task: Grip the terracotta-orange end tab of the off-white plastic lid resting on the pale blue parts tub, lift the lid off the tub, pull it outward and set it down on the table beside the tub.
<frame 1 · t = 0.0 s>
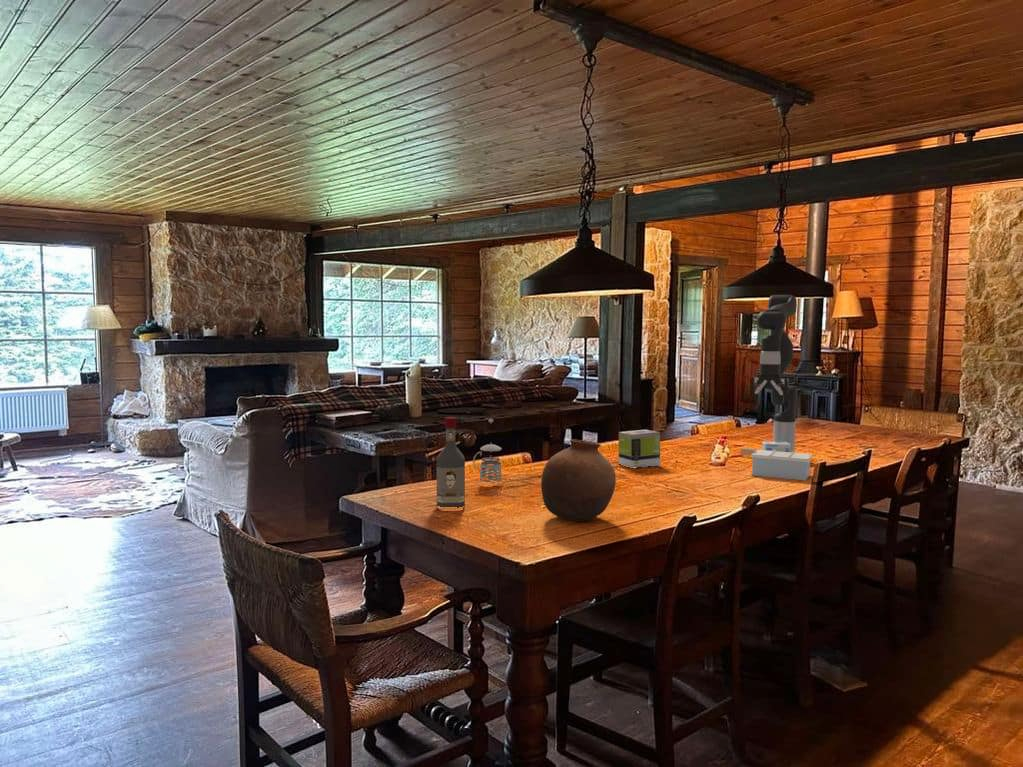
hand: (768, 404, 292), 29 cm above the table, tool pointing down, fingers open, 8 cm apart
lid: (781, 457, 295), point 8 cm above the table, touching tub
pottery: (578, 519, 232), on the table
tub: (780, 477, 295), on the table
french press: (488, 484, 281), on the table
light bulb box: (775, 468, 315), on the table
liquor: (450, 508, 245), on the table
tea box: (639, 466, 318), on the table
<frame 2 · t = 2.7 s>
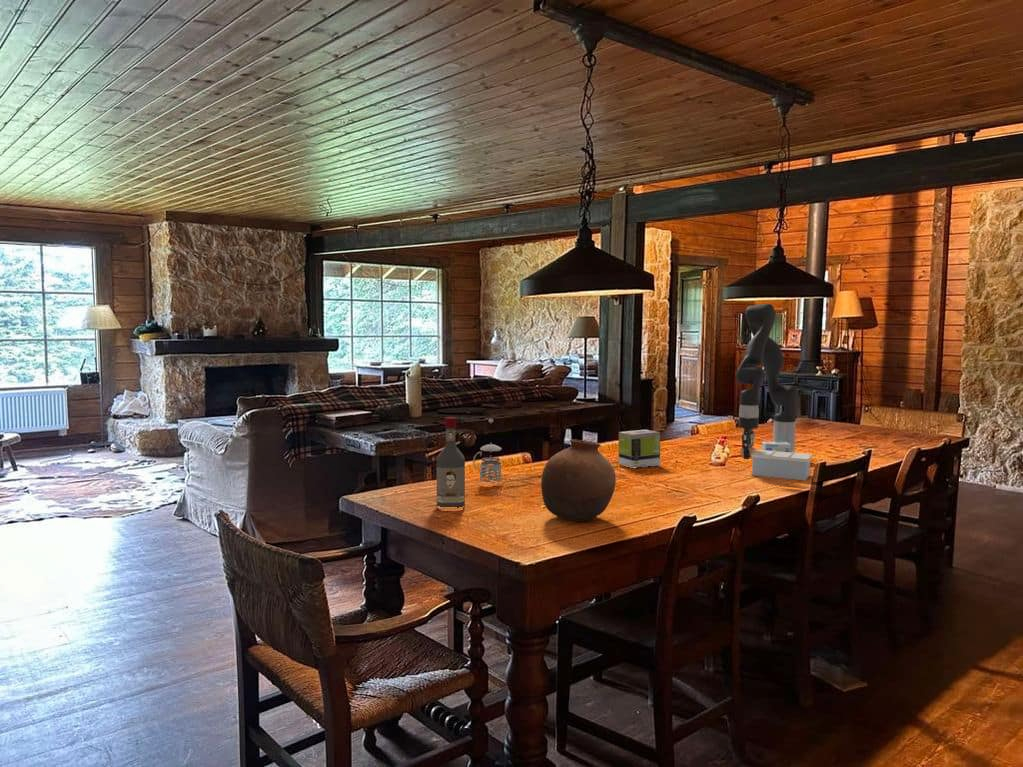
hand: (747, 457, 301), 7 cm above the table, tool pointing down, fingers closed on lid, 4 cm apart
lid: (781, 457, 295), point 8 cm above the table, touching gripper, tub
everything else where it was.
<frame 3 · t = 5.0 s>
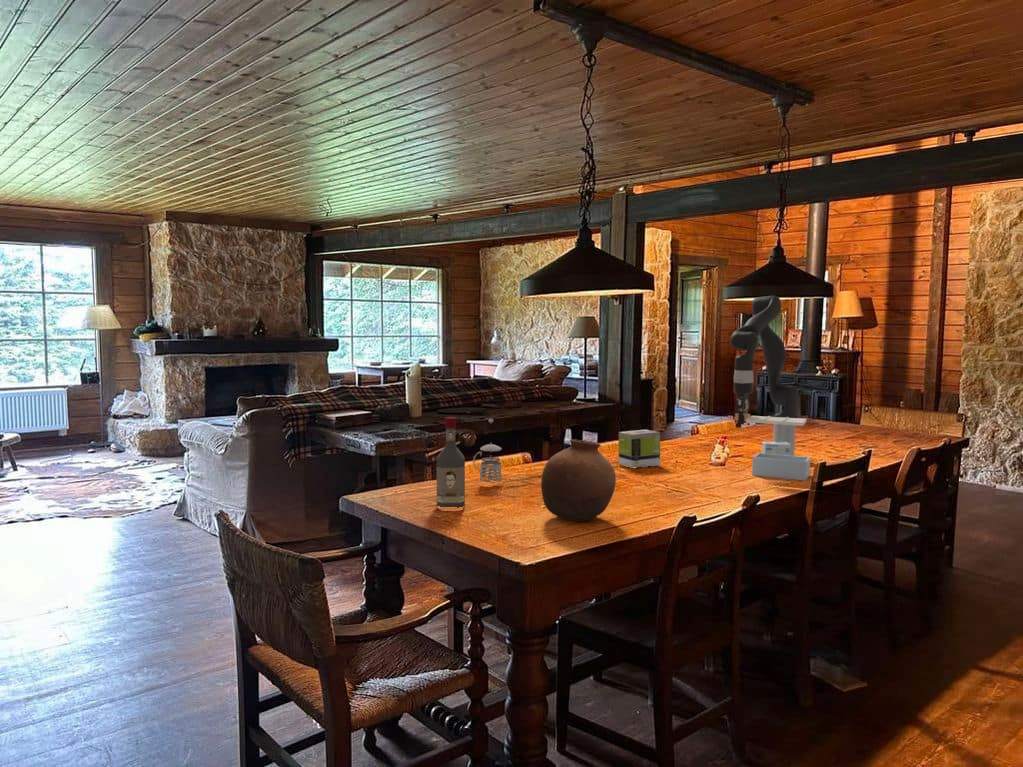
hand: (742, 423, 301), 20 cm above the table, tool pointing down, fingers closed on lid, 4 cm apart
lid: (776, 422, 295), point 22 cm above the table, touching gripper
everything else where it was.
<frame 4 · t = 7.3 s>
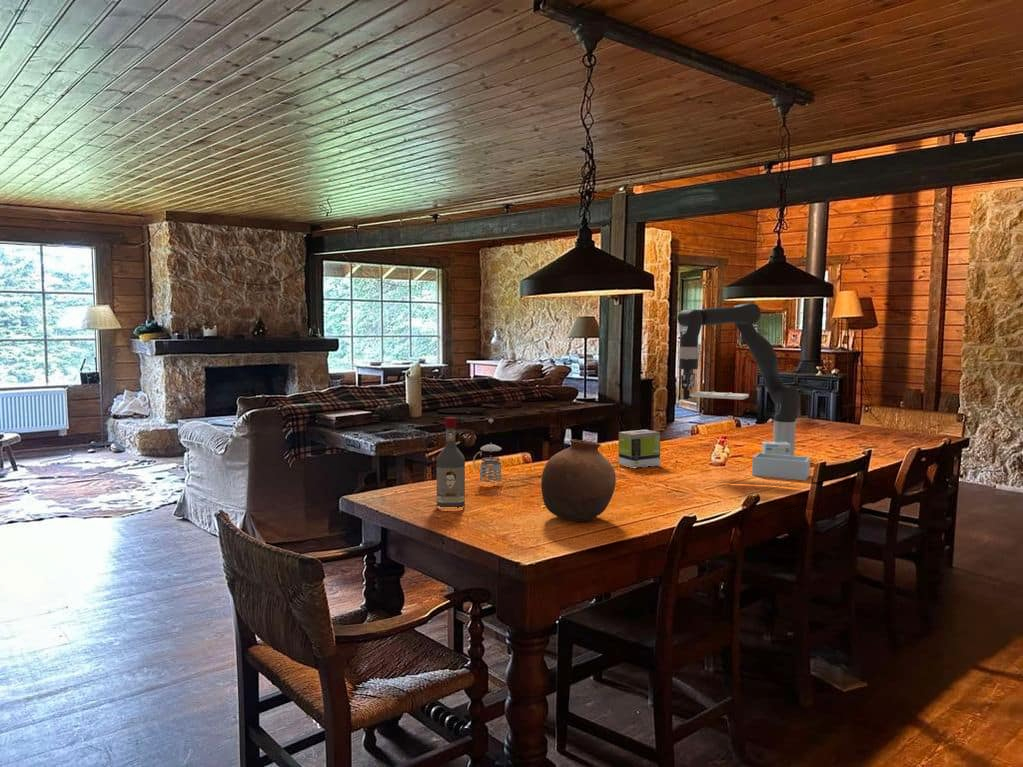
hand: (687, 398, 311), 29 cm above the table, tool pointing down, fingers closed on lid, 4 cm apart
lid: (719, 396, 304), point 31 cm above the table, touching gripper
everything else where it was.
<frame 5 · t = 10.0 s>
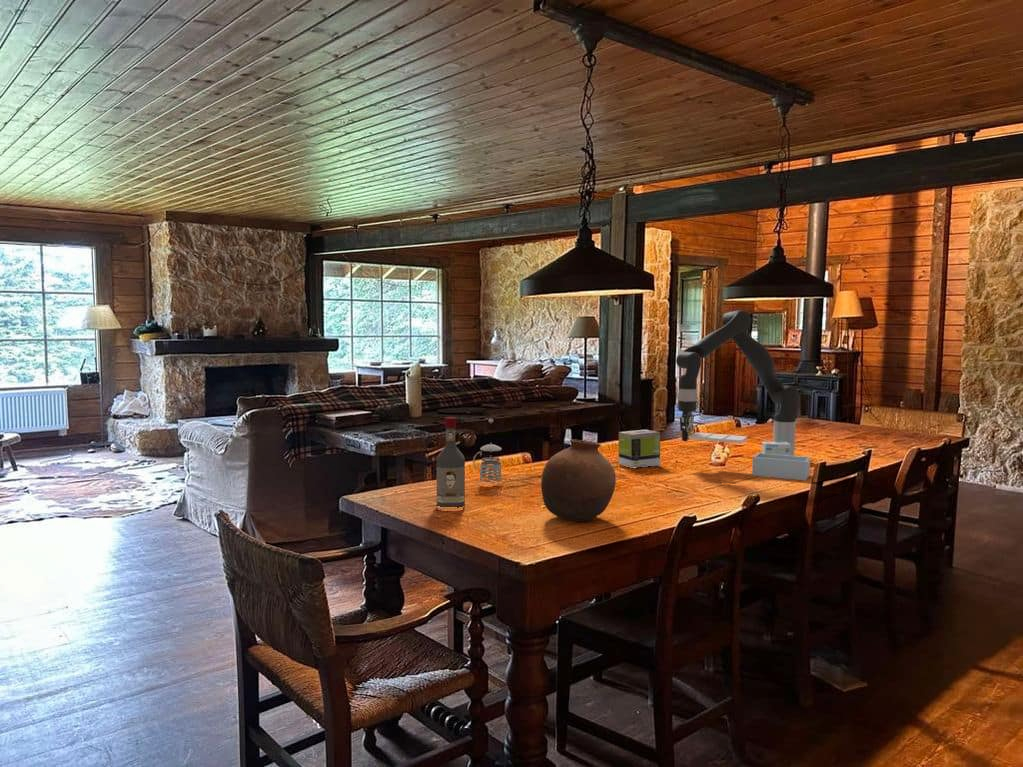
hand: (686, 439, 312), 12 cm above the table, tool pointing down, fingers closed on lid, 4 cm apart
lid: (717, 439, 306), point 13 cm above the table, touching gripper
everything else where it was.
when the fingers open (2 cm above the table, at t = 12.2 s): lid drops 3 cm, on the table.
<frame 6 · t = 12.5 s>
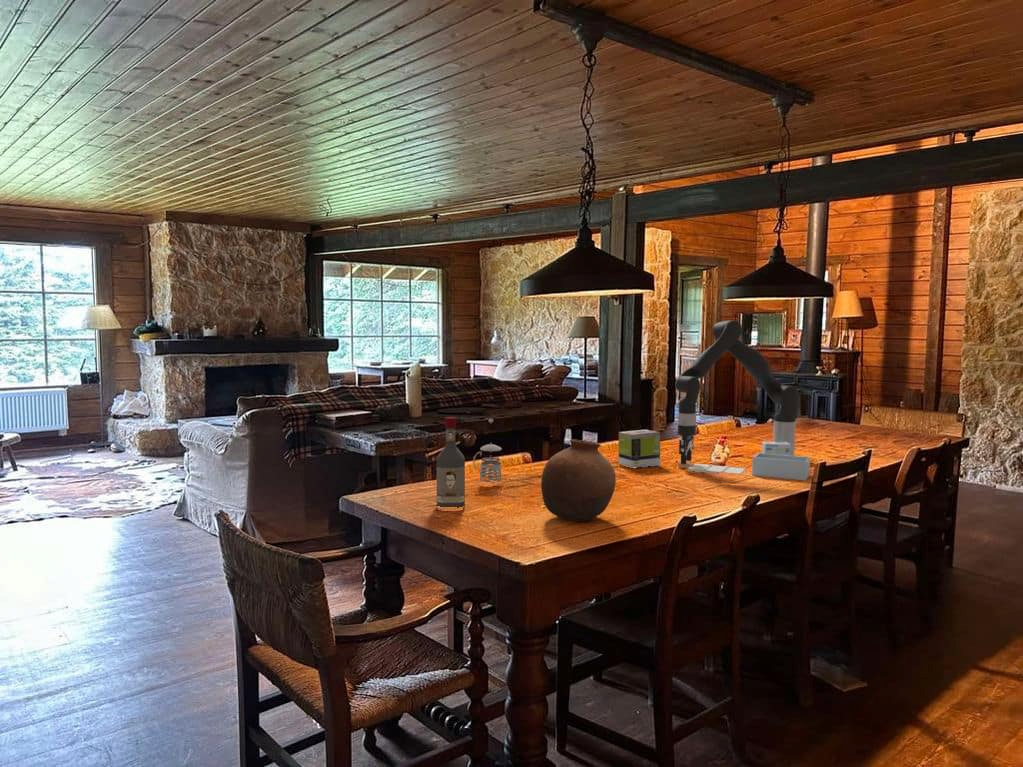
hand: (686, 462, 313), 2 cm above the table, tool pointing down, fingers open, 7 cm apart
lid: (716, 471, 307), on the table
everything else where it was.
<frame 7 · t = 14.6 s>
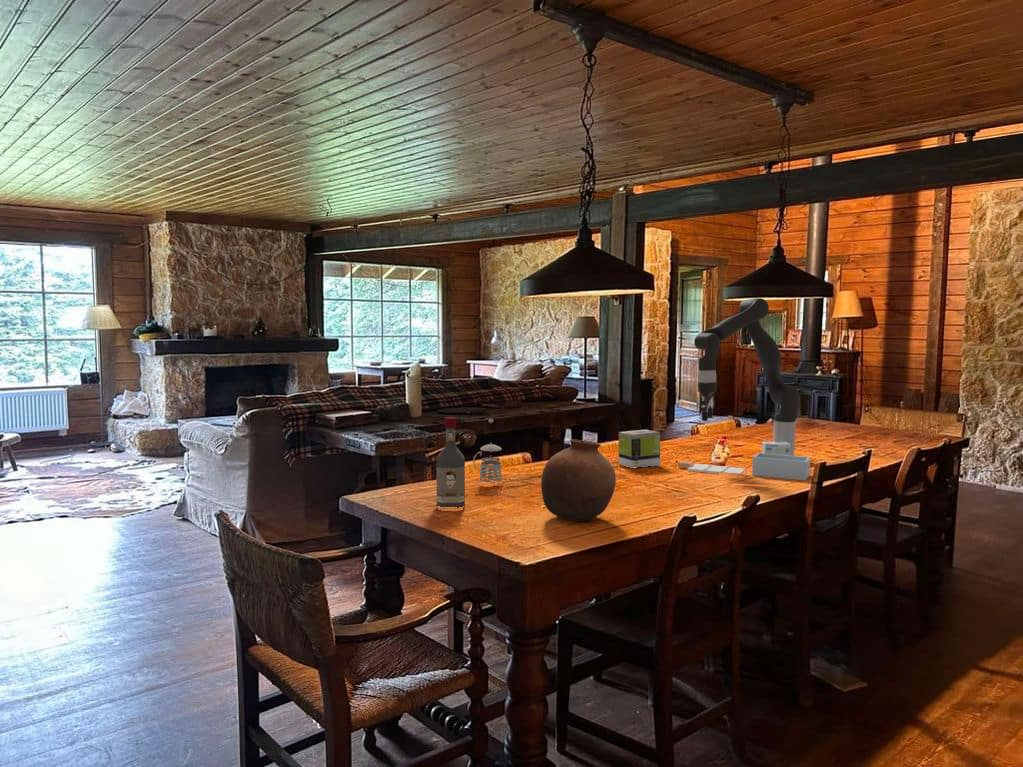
hand: (707, 419, 312), 21 cm above the table, tool pointing down, fingers open, 8 cm apart
nothing on the table moved.
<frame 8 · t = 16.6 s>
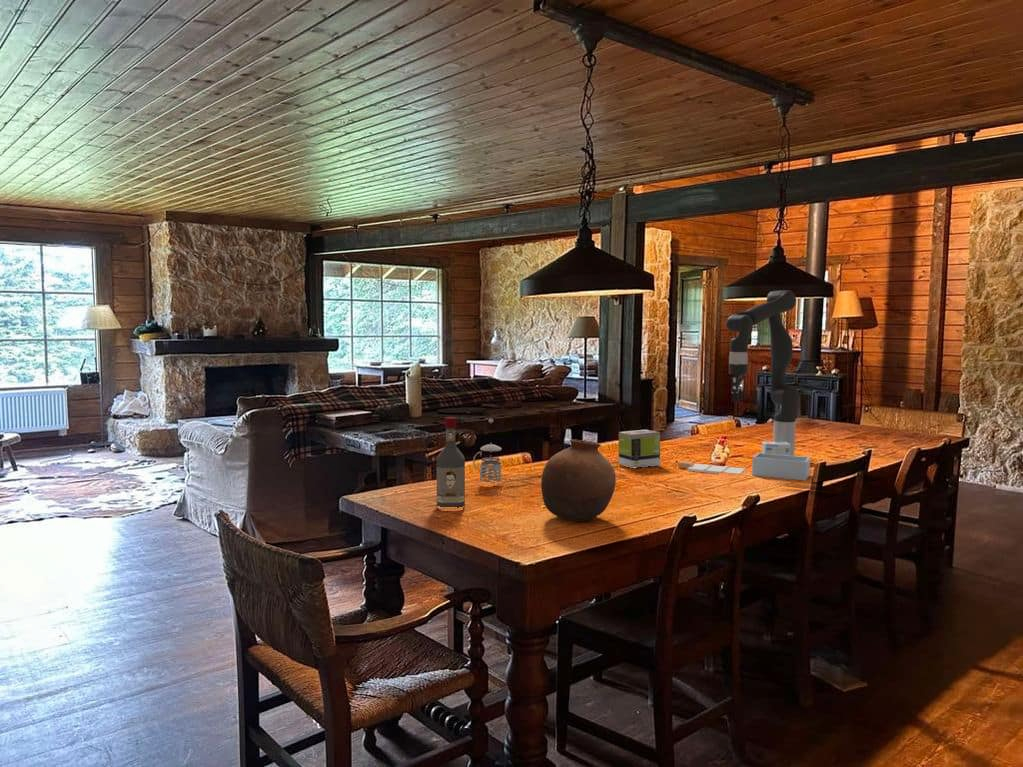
hand: (737, 401, 312), 28 cm above the table, tool pointing down, fingers open, 8 cm apart
nothing on the table moved.
at the end: lid touching table; lid inside the target area (8.8 cm from its centre), on the table; the gripper is holding nothing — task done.
